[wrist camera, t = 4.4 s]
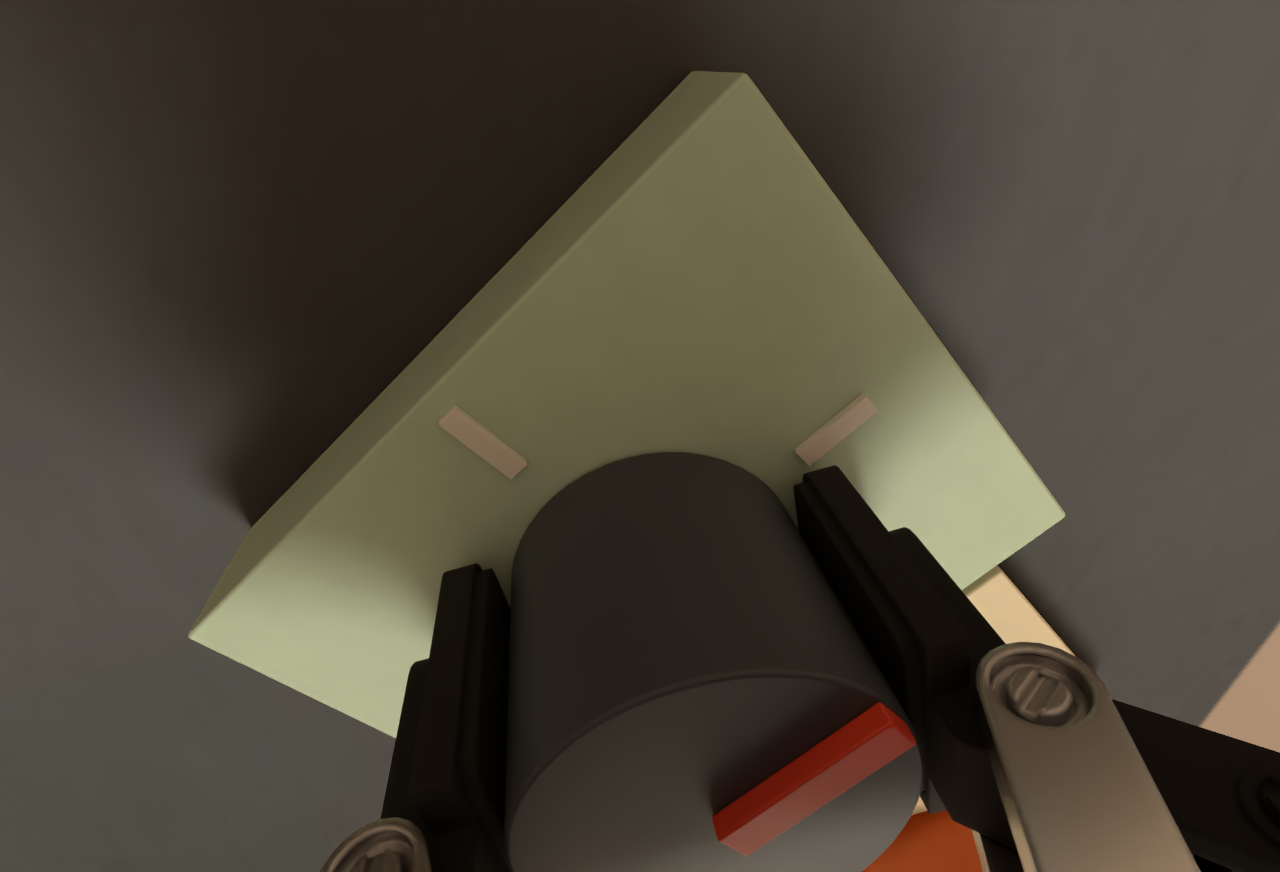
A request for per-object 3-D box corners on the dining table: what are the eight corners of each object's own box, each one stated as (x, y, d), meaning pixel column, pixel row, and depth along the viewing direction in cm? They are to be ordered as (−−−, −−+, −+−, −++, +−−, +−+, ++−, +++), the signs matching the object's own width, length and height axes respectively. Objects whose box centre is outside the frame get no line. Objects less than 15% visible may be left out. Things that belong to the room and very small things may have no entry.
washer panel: (596, 730, 18) (609, 850, 15) (249, 528, 14) (179, 645, 11) (976, 439, 15) (1074, 521, 13) (693, 68, 11) (749, 70, 8)
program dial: (648, 714, 14) (702, 1003, 9) (447, 589, 11) (403, 895, 7) (848, 562, 12) (1012, 816, 8) (668, 389, 10) (769, 616, 6)
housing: (804, 866, 23) (855, 1010, 19) (621, 762, 19) (643, 920, 15) (1093, 681, 20) (1211, 809, 17) (951, 517, 16) (1067, 639, 13)
